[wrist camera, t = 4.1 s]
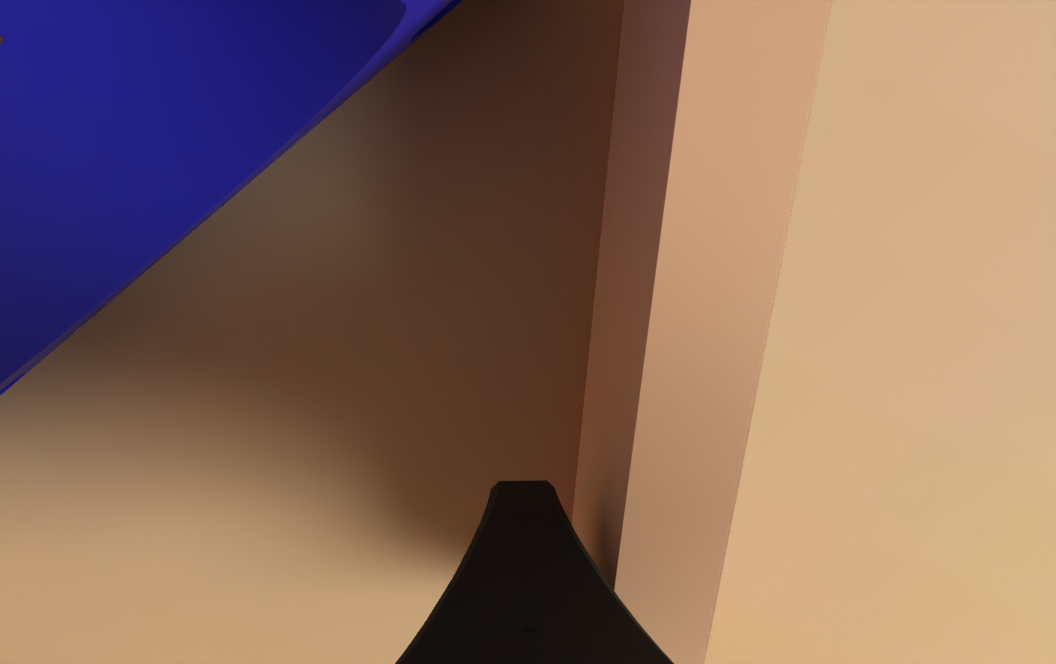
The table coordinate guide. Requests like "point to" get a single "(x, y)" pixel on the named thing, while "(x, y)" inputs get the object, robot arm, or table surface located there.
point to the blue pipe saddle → (154, 131)
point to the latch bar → (688, 291)
